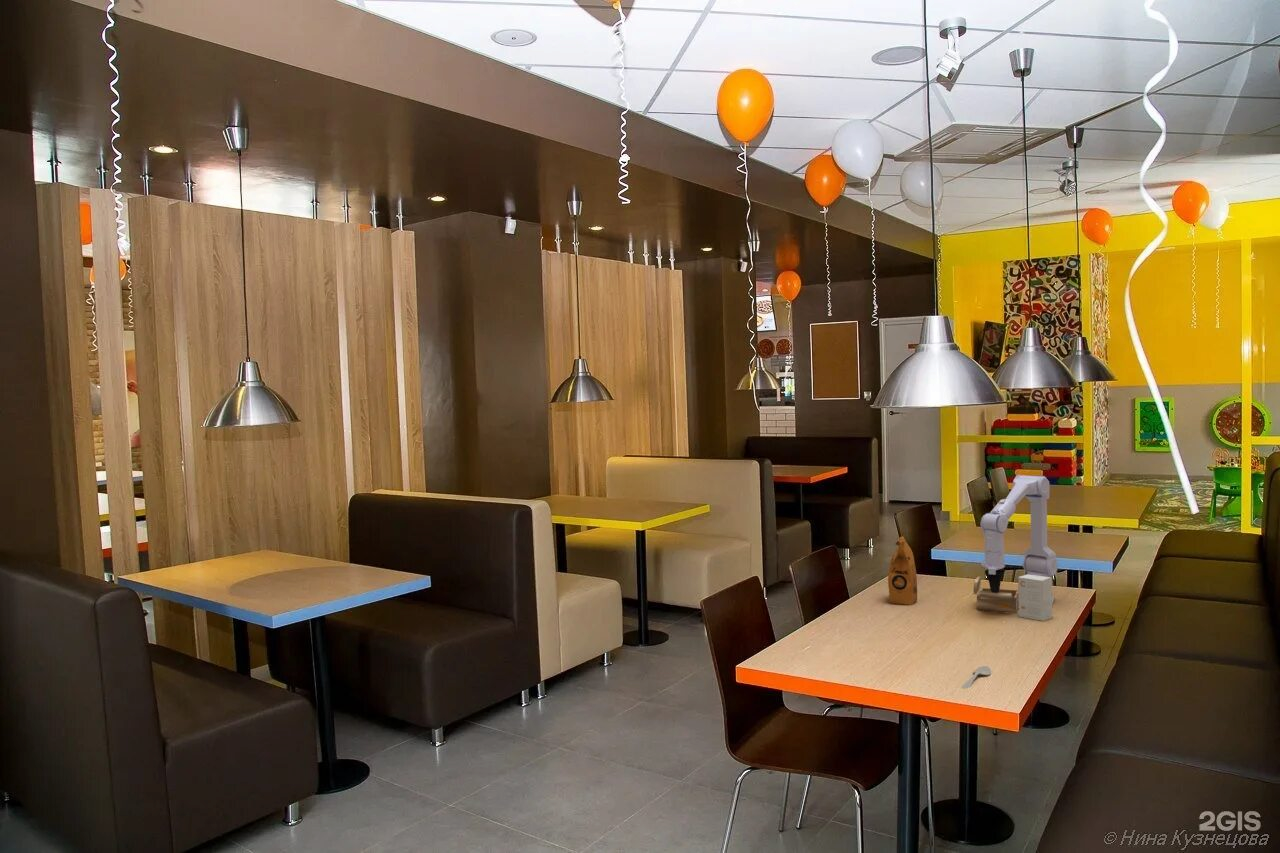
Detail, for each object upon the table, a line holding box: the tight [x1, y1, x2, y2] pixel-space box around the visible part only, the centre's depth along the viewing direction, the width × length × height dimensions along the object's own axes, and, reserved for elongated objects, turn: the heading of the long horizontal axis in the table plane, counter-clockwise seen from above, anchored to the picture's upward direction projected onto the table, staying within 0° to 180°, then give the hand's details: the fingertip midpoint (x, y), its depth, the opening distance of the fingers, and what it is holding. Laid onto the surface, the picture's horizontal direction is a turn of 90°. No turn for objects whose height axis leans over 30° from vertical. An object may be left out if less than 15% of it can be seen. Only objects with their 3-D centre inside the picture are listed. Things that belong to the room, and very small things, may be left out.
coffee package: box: [887, 535, 918, 606], centre depth 305 cm, size 10×12×22 cm
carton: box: [976, 587, 1019, 614], centre depth 292 cm, size 12×12×5 cm
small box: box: [1017, 573, 1053, 622], centre depth 278 cm, size 8×6×13 cm
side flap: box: [972, 575, 982, 595], centre depth 295 cm, size 4×10×1 cm
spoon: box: [961, 665, 992, 690], centre depth 220 cm, size 4×21×2 cm, turn 141°
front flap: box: [979, 590, 1012, 601], centre depth 285 cm, size 4×10×1 cm
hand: (995, 592), depth 283 cm, fingers closed
